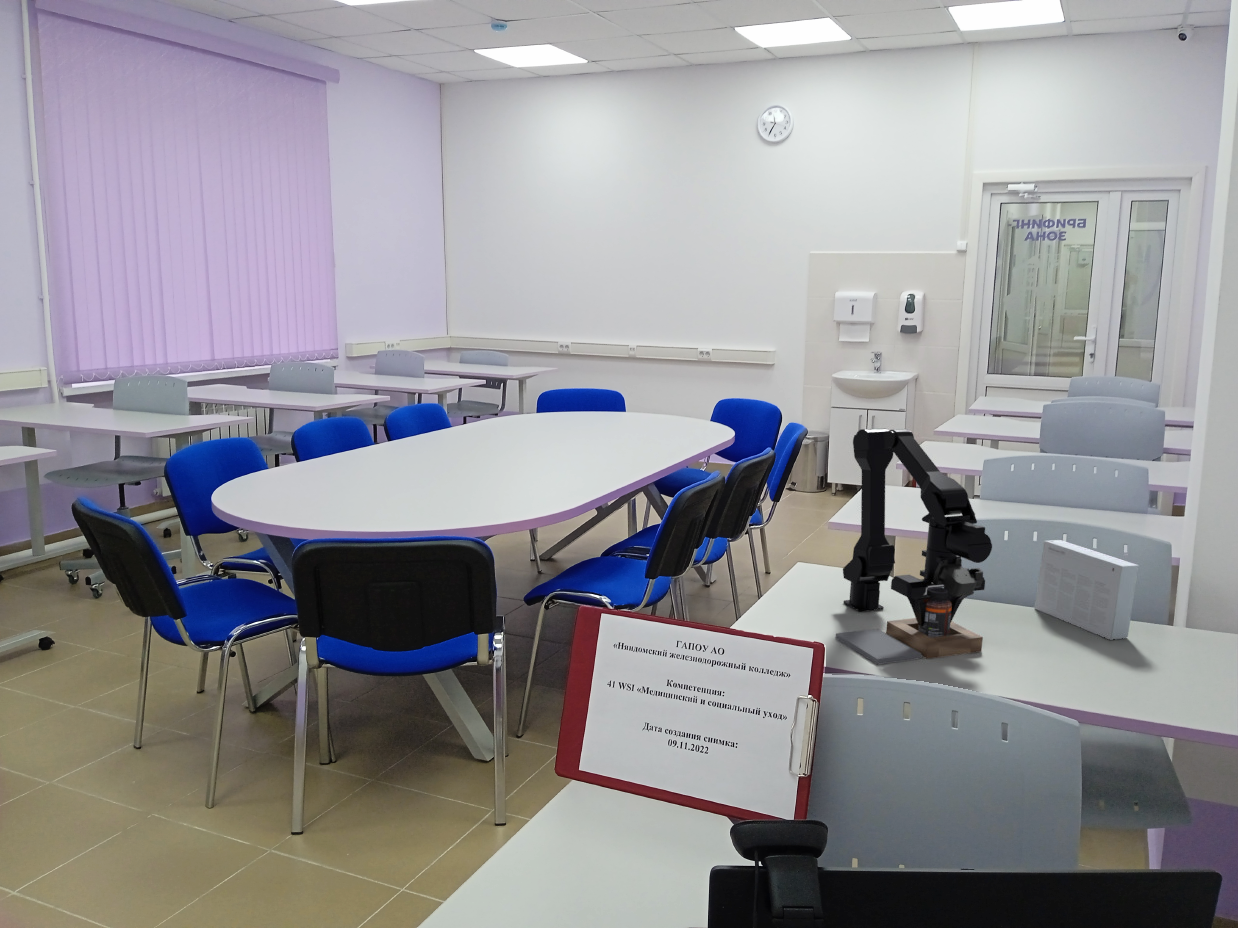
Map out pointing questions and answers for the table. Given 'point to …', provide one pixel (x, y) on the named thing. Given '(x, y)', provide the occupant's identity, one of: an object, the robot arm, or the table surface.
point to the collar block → (935, 639)
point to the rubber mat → (878, 646)
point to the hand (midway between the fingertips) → (934, 623)
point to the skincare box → (1086, 588)
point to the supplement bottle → (937, 613)
